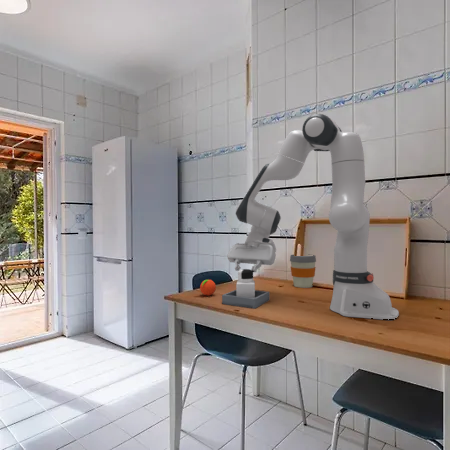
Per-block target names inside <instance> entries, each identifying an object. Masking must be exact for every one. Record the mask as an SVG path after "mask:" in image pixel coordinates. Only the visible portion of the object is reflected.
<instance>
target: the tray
mask: <svg viewBox="0 0 450 450" xmlns="http://www.w3.org/2000/svg"><path fill="white" fill-rule="evenodd" d="M269 301H270V291H265V290H257V289H255V298H254V299H253V298H246V297H238V296H236V289H234V290H232V291H230V292H227V293H226V292H225V293H224V294H222V295H221V305H226V306H233V307H235V306H236V307H240V308H247V309H248V308H249V309H253V310H254V309H257V308H259V307H260V306H262V305H264V304H266V303H267V302H269Z"/></svg>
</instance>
